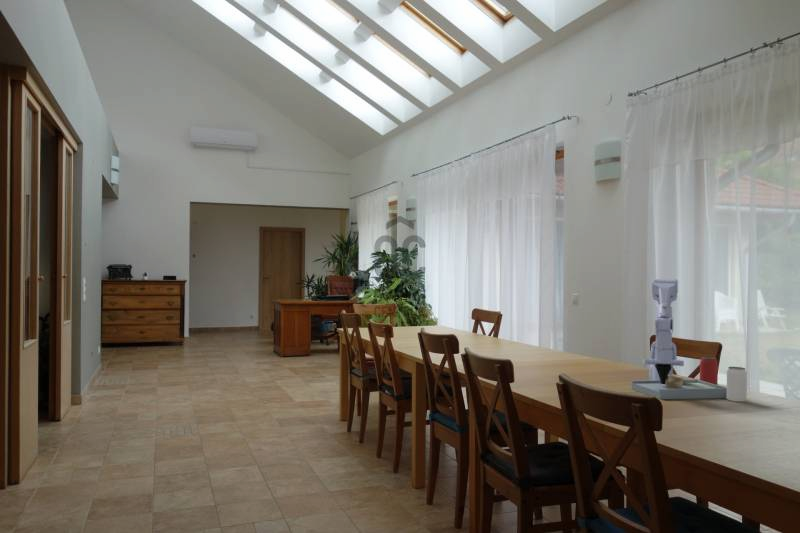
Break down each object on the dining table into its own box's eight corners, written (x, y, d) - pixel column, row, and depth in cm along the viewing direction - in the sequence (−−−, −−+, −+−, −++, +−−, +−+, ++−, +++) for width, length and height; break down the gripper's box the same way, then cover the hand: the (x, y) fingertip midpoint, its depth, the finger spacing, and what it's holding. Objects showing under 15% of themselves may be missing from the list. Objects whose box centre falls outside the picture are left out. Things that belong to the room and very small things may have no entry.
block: (668, 387, 238) (668, 377, 238) (665, 385, 243) (665, 375, 243) (682, 388, 237) (682, 377, 237) (678, 385, 242) (678, 375, 242)
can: (741, 399, 231) (742, 366, 231) (749, 402, 225) (750, 369, 225) (723, 398, 232) (724, 366, 232) (730, 401, 225) (731, 368, 225)
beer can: (695, 385, 257) (696, 356, 257) (707, 384, 260) (707, 356, 260) (709, 388, 251) (710, 359, 251) (721, 387, 254) (721, 358, 254)
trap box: (631, 389, 246) (631, 380, 246) (697, 388, 252) (697, 379, 252) (660, 399, 228) (660, 389, 228) (730, 397, 233) (730, 388, 233)
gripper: (646, 349, 238) (645, 384, 238) (686, 350, 236) (685, 386, 235) (642, 347, 245) (641, 381, 245) (680, 348, 243) (680, 383, 242)
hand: (662, 383), depth 240 cm, fingers closed
